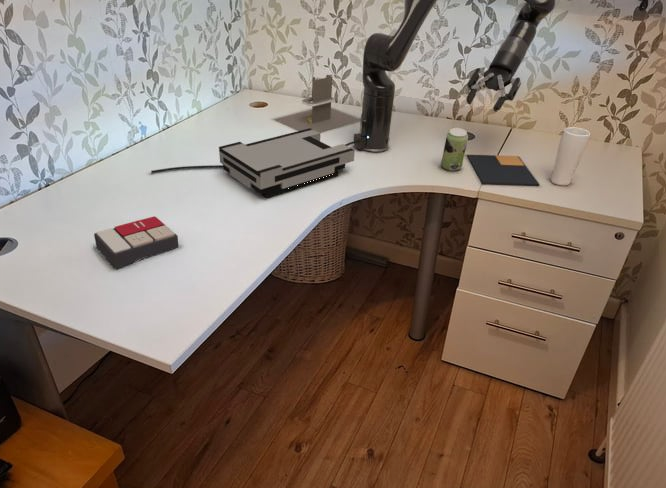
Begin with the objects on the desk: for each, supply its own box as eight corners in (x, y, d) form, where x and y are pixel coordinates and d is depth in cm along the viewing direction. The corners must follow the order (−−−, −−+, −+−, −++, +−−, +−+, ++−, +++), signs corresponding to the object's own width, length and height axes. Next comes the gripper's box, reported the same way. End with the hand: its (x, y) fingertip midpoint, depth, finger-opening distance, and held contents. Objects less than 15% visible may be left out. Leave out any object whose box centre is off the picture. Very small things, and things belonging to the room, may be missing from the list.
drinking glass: (571, 179, 154) (589, 128, 145) (573, 189, 149) (591, 137, 140) (547, 175, 155) (563, 125, 146) (547, 185, 150) (564, 133, 141)
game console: (352, 172, 154) (355, 145, 149) (261, 202, 138) (260, 173, 133) (309, 149, 167) (309, 124, 162) (221, 174, 151) (218, 146, 146)
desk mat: (482, 184, 150) (482, 181, 149) (466, 156, 166) (467, 153, 165) (538, 186, 150) (539, 183, 149) (518, 157, 166) (518, 155, 165)
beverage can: (459, 164, 161) (467, 125, 153) (463, 174, 155) (471, 134, 148) (438, 163, 161) (446, 124, 154) (441, 173, 155) (449, 133, 148)
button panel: (178, 232, 118) (112, 251, 110) (179, 249, 120) (115, 269, 112) (155, 213, 125) (92, 230, 116) (157, 229, 127) (95, 247, 119)
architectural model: (273, 119, 189) (273, 76, 180) (325, 105, 202) (327, 65, 193) (309, 135, 177) (310, 90, 168) (362, 120, 190) (365, 78, 182)
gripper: (533, 70, 154) (505, 119, 154) (489, 60, 161) (462, 107, 162) (531, 54, 147) (501, 106, 148) (484, 44, 155) (456, 93, 155)
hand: (481, 106), depth 155 cm, fingers open, 8 cm apart
